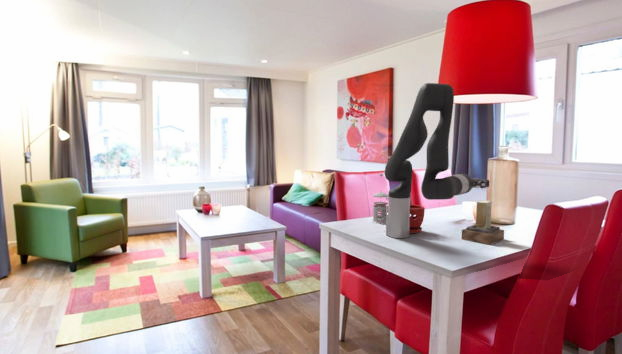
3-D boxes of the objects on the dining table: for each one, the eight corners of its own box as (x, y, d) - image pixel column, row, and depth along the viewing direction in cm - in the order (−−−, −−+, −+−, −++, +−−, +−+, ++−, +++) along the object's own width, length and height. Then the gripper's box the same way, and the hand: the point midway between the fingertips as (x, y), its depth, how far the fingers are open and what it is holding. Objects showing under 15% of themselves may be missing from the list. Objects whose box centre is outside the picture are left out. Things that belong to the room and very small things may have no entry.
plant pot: (425, 235, 166) (425, 208, 165) (394, 234, 169) (395, 207, 168) (422, 228, 179) (423, 203, 178) (394, 227, 182) (394, 202, 181)
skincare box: (480, 227, 163) (481, 199, 162) (490, 229, 160) (492, 200, 159) (475, 230, 158) (476, 201, 157) (486, 232, 155) (487, 202, 154)
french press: (367, 220, 198) (367, 173, 196) (385, 218, 203) (386, 172, 200) (378, 224, 189) (378, 174, 187) (396, 222, 194) (397, 173, 192)
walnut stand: (461, 239, 160) (462, 227, 159) (475, 234, 168) (476, 222, 168) (490, 244, 151) (490, 232, 150) (503, 239, 159) (504, 227, 159)
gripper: (478, 175, 132) (494, 172, 144) (439, 173, 142) (457, 170, 154) (477, 196, 133) (493, 192, 145) (439, 192, 143) (456, 188, 155)
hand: (474, 180), depth 149 cm, fingers open, 8 cm apart
